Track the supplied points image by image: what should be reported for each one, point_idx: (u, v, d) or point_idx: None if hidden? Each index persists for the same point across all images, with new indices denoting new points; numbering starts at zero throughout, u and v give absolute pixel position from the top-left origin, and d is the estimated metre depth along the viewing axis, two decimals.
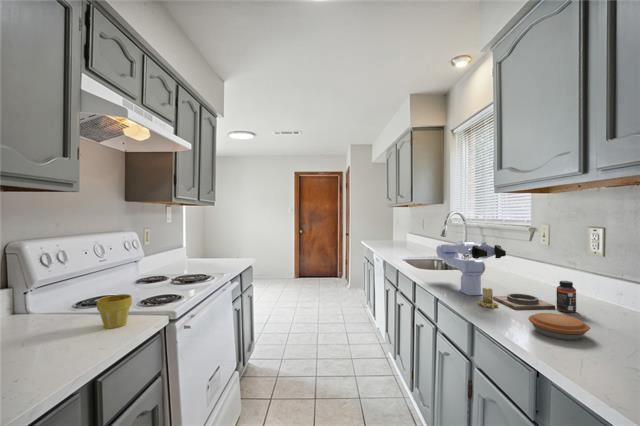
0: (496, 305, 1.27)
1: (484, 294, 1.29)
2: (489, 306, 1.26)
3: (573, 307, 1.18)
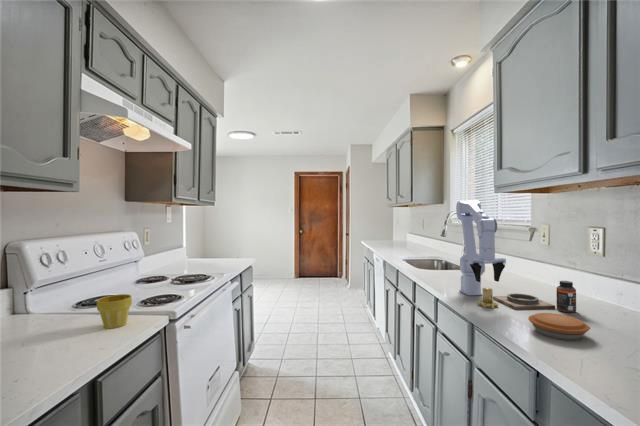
0: (496, 305, 1.27)
1: (484, 294, 1.29)
2: (489, 306, 1.26)
3: (573, 307, 1.18)
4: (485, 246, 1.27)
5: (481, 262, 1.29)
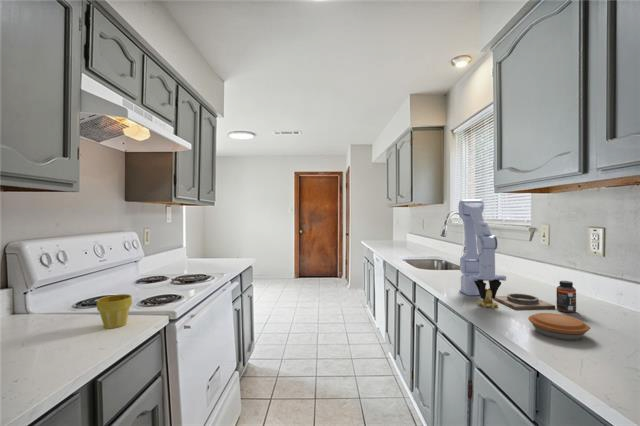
0: (496, 305, 1.27)
1: None
2: (489, 306, 1.26)
3: (573, 307, 1.18)
4: (485, 263, 1.27)
5: (481, 279, 1.29)
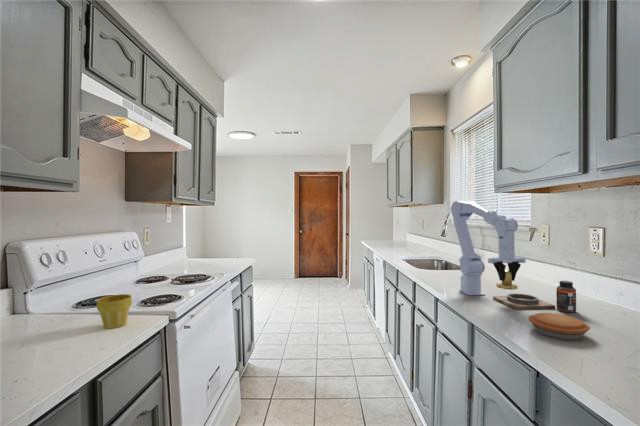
0: (516, 287, 1.28)
1: None
2: (509, 288, 1.27)
3: (573, 307, 1.18)
4: (509, 246, 1.28)
5: (501, 261, 1.30)
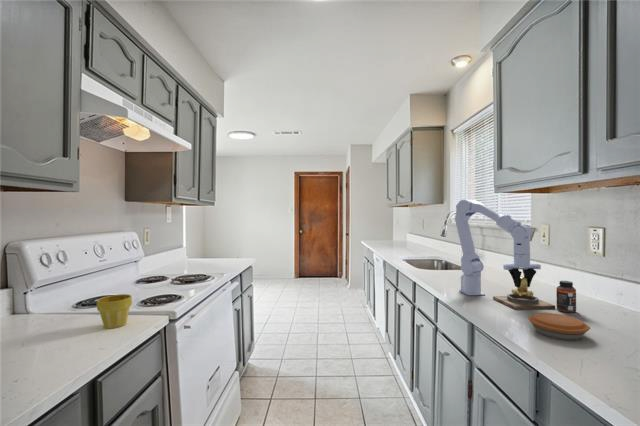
0: (531, 293, 1.28)
1: None
2: (524, 294, 1.28)
3: (573, 307, 1.18)
4: (527, 252, 1.28)
5: (516, 268, 1.31)
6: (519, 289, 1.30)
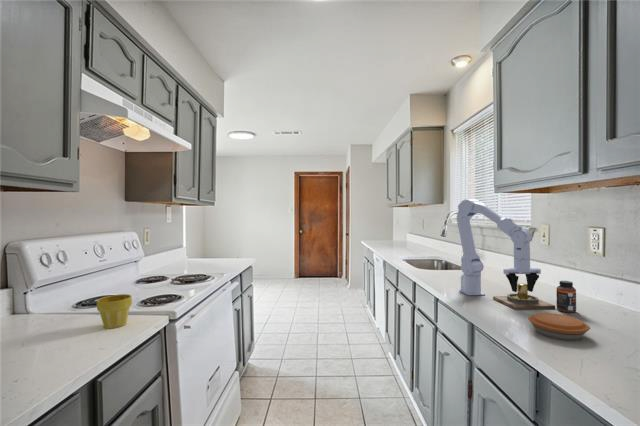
0: None
1: (519, 289, 1.30)
2: None
3: (573, 307, 1.18)
4: (527, 257, 1.28)
5: (516, 272, 1.31)
6: (519, 296, 1.30)
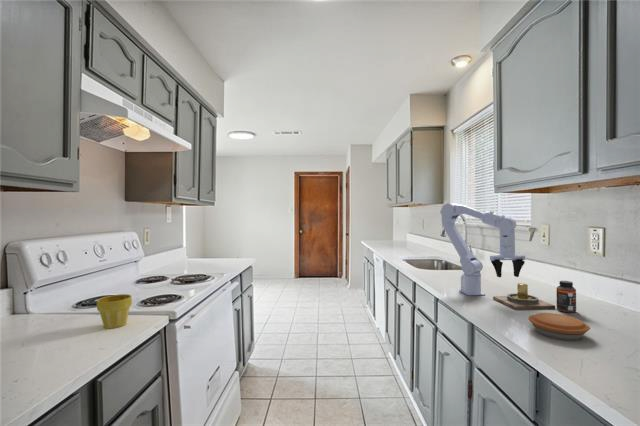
0: None
1: (519, 289, 1.30)
2: None
3: (573, 307, 1.18)
4: (512, 244, 1.35)
5: (502, 259, 1.37)
6: (519, 296, 1.30)
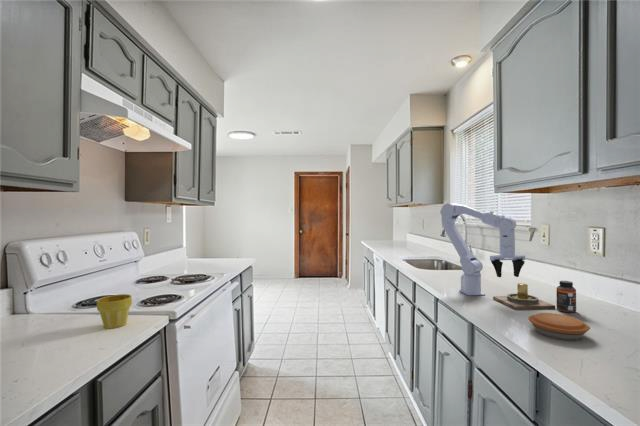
0: None
1: (519, 289, 1.30)
2: None
3: (573, 307, 1.18)
4: (512, 244, 1.35)
5: (502, 259, 1.37)
6: (519, 296, 1.30)
